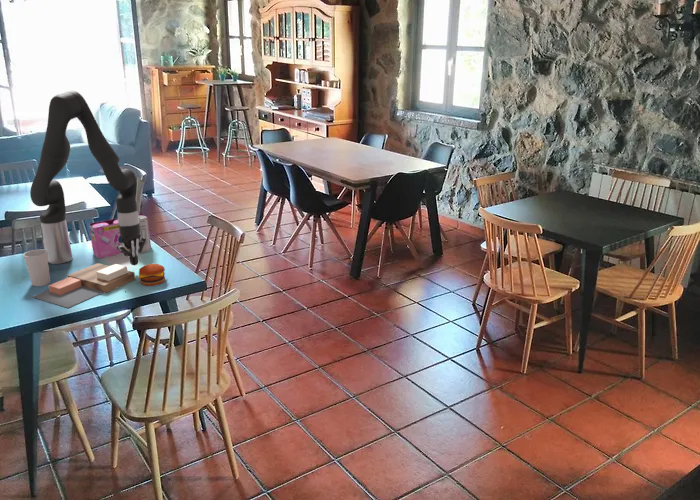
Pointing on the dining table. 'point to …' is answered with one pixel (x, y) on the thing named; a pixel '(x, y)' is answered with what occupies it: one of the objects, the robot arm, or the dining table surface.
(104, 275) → the cream card box
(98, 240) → the gum box
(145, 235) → the energy drink can
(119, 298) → the dining table surface
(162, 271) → the hamburger
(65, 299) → the slate mat
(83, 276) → the walnut board
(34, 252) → the cup
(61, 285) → the terracotta card box
